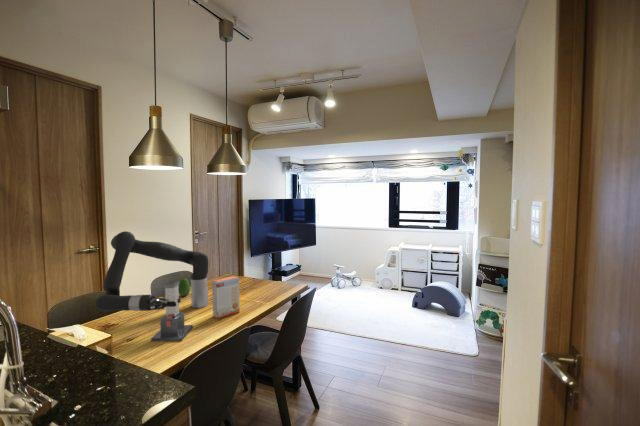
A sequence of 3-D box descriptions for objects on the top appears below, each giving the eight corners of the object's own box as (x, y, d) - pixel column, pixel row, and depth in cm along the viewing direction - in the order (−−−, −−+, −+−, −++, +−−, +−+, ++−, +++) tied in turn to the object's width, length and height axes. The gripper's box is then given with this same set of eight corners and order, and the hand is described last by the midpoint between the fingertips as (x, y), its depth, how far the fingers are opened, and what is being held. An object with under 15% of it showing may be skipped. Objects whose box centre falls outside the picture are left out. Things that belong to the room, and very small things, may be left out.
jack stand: (164, 328, 156) (164, 308, 155) (192, 327, 157) (192, 307, 156) (151, 341, 142) (150, 319, 141) (181, 340, 143) (181, 318, 142)
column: (171, 328, 152) (170, 281, 151) (180, 328, 152) (179, 281, 151) (165, 334, 146) (164, 284, 145) (174, 334, 146) (173, 284, 145)
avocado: (192, 294, 211) (192, 277, 210) (187, 297, 203) (187, 280, 202) (180, 294, 210) (180, 277, 210) (175, 297, 202) (175, 280, 202)
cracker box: (234, 309, 182) (234, 275, 181) (239, 312, 178) (239, 277, 177) (212, 316, 172) (211, 279, 171) (217, 319, 168) (216, 281, 167)
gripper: (133, 300, 140) (171, 299, 141) (149, 290, 155) (183, 290, 155) (134, 316, 141) (171, 315, 142) (149, 305, 155) (184, 304, 156)
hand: (177, 302), depth 149 cm, fingers closed on column, 4 cm apart
